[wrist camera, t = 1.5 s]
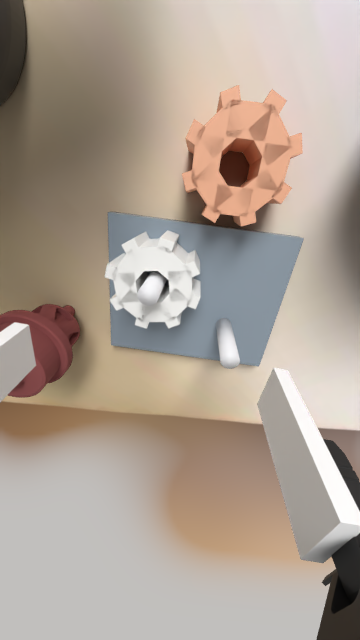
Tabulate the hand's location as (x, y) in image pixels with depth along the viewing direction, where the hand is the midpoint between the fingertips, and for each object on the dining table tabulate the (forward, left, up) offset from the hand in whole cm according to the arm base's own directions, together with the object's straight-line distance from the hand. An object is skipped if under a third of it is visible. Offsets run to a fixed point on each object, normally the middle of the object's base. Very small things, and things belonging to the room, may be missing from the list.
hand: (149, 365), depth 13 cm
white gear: (0, -2, -18) cm, 18 cm away
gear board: (+3, +2, -19) cm, 20 cm away
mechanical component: (+10, -17, -20) cm, 28 cm away
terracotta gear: (-11, +4, -19) cm, 23 cm away
